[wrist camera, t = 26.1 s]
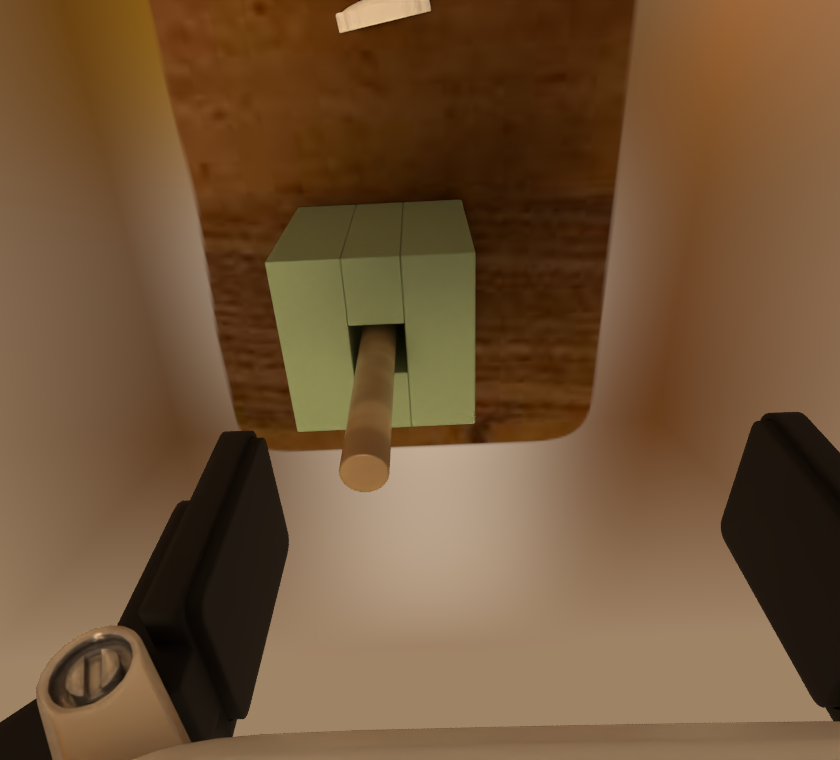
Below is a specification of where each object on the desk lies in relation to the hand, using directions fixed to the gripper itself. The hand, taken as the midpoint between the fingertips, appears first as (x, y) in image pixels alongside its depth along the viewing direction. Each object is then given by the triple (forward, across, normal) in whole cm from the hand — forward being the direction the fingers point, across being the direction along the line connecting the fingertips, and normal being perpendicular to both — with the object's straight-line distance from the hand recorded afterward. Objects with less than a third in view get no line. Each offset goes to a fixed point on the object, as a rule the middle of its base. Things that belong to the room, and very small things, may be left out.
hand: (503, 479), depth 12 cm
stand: (+22, +4, +5) cm, 22 cm away
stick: (+22, +4, +5) cm, 22 cm away
